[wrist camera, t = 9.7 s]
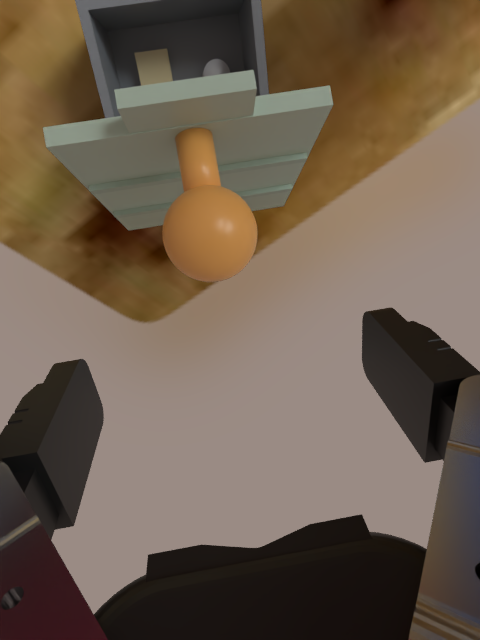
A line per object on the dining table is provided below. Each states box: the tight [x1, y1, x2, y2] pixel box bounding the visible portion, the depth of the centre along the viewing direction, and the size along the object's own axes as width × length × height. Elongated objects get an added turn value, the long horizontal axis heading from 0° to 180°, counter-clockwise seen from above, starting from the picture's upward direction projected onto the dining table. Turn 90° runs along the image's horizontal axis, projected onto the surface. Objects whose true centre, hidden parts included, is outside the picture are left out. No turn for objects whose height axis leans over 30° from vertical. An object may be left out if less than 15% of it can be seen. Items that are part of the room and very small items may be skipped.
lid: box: [43, 70, 333, 282], centre depth 22 cm, size 12×15×7 cm
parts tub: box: [75, 0, 269, 118], centre depth 30 cm, size 11×14×7 cm
